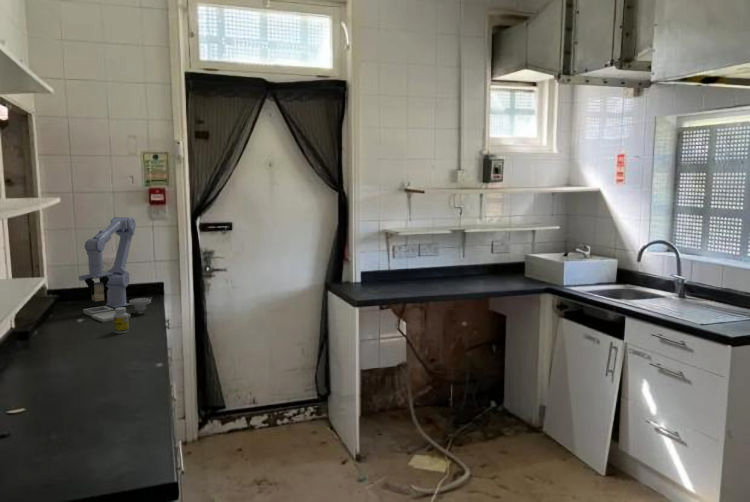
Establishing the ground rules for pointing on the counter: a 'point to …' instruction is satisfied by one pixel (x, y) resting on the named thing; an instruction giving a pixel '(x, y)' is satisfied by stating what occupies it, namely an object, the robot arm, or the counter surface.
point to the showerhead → (140, 304)
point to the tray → (106, 316)
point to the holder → (97, 310)
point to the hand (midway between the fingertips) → (97, 293)
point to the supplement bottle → (121, 320)
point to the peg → (98, 292)
